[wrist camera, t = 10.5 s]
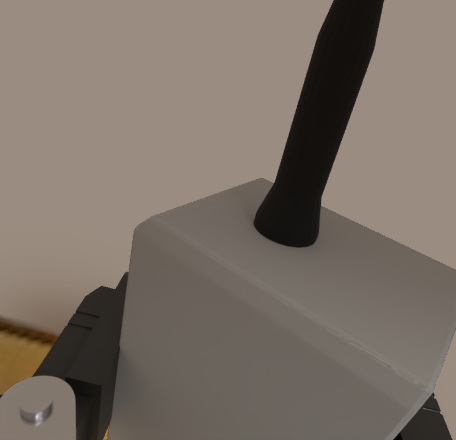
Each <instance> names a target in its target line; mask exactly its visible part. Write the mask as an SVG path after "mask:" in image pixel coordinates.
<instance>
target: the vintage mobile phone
mask: <svg viewBox="0 0 456 440" xmlns="http://www.w3.org/2000/svg"><path fill="white" fill-rule="evenodd" d="M383 2H384V0H334V1H333V3H332V5H331V7H330V10H329V12H328V14H327V16H326V19H325V21H324V23H323V25H322V27H321V30H320V32H319V34H318V37H317V40H316V44H315V47H314V50H313V54H312V57H311V61H310V64H309V68H308V71H307V74H306V78H305V81H304V84H303V88H302V91H301V95H300V99H299V102H298V105H297V109H296V112H295V115H294V119H293V122H292V125H291V129H290V132H289V136H288V139H287V142H286V146H285V149H284V153H283V156H282V159H281V163H280V166H279V170H278V173H277V176H276V180H275V182H274V183H272V182H270V181H268V180H266V179H263V178H259V179H256V180H254V181H251V182H248V183H245V184H242V185H239V186H237V187H234V188H231V189H228V190H225V191H223V192H220V193H217V194H214V195H211V196H208V197H206V198H203V199H200V200H197V201H194V202H191V203H188V204H186V205H183V206H180V207H177V208H174V209H171V210H169V211H166V212H163V213H160V214H157V215H154V216H152V217H150V218H149V219H147V220H146V221H144V222H142V223H141V224H139V225H138V226H137V227H136V228H135V230H134V235H133V242H132V250H131V258H130V265H129V273H128V281H127V289H126V297H125V304H124V312H123V320H122V328H121V336H120V343H119V346H120V350H119V359H118V367H117V375H116V384H115V392H114V401H113V409H112V418H111V421H110V423H109V429H108V437H107V440H393V439H394V438H395V437H396V436H397V435H398V433H399V432H400V431H401V430H402V429H403V428H404V427H405V425H406V424H407V423H408V422H409V421H410V420H411V418H412V417H413V416H414V415H415V414H416V413H417V412H418V410H419V409H420V408H421V407H422V405H423V404H424V403H425V402H426V400H427V399H428V398H429V397H430V395H431V394H432V393H433V391H434V388H435V385H436V382H437V380H438V377H439V374H440V371H441V368H442V366H443V363H444V360H445V358H446V355H447V352H448V350H449V346H450V344H451V341H452V339H453V336H454V333H455V330H456V270H455V269H453V268H451V267H449V266H447V265H445V264H442V263H440V262H438V261H436V260H434V259H432V258H430V257H428V256H426V255H424V254H421V253H419V252H417V251H415V250H413V249H411V248H409V247H407V246H405V245H403V244H400V243H398V242H396V241H394V240H392V239H390V238H388V237H385V236H383V235H381V234H379V233H377V232H375V231H373V230H371V229H369V228H367V227H364V226H362V225H360V224H358V223H356V222H354V221H352V220H350V219H348V218H345V217H344V216H341V215H339V214H337V213H335V212H333V211H331V210H329V209H327V208H325V207H322V206H321V197H322V194H323V191H324V188H325V186H326V183H327V180H328V177H329V174H330V171H331V169H332V166H333V163H334V160H335V158H336V155H337V152H338V149H339V146H340V143H341V141H342V138H343V135H344V132H345V130H346V127H347V124H348V121H349V118H350V116H351V112H352V110H353V107H354V104H355V102H356V99H357V96H358V93H359V90H360V87H361V85H362V82H363V79H364V76H365V74H366V71H367V68H368V65H369V62H370V60H371V56H372V54H373V51H374V47H375V42H376V37H377V32H378V28H379V23H380V17H381V13H382V8H383Z"/></svg>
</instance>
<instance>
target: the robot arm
mask: <svg viewBox="0 0 456 440" xmlns="http://www.w3.org/2000/svg"><path fill="white" fill-rule="evenodd" d="M128 273H129V272H126V273H125V274H124V275H123V277H122V279H121V280H120V282H119V284H118V286H117V288H116V289H112V288H108V287H103V286H101V287H99V288H98V289H96V290H94V291H93V292H91V293H90V294H89V295H87V296H86V297H85V298H84V300H83V301H82V303H81V304H80V306H79V307H78V309H77V310H76V313H75V314H74V315H73V316H72V318H71V319H70V321H69V323H68V325H67V326H66V327H65V328H64V330H63V331H62V333H61V334H60V336H59V337H58V339H57V340H56V342H55V343H54V345H53V347H52V348H51V350H50V351H49V353H48V354H47V356H46V357H45V359H44V360H43V362H42V363H41V365H40V366H39V368H38V369H37V371H36V372H35V373H34V375H33V376H32V377H31V378H27V379H25V380H22V381H20V382H18V383H16V384H15V385H13V386H12V387H11V388H9V389H8V390H7V391H6V392H5V393H4V394H3V395H0V440H103V438H104V435H105V433H106V430H107V428H108V425H109V423H110V421H111V418H112V409H113V401H114V392H115V384H116V375H117V367H118V359H119V350H120V346H119V343H120V336H121V328H122V320H123V312H124V304H125V297H126V289H127V281H128ZM434 396H435V395H434V393H432V394H431V395H430V397H429V398H428V399H427V400H426V402H425V403H424V404H423V405H422V407H421V408H420V409H419V410H418V412H417V413H416V414H415V415H414V416H413V417H412V418H411V420H410V421H409V422H408V423H407V424H406V425H405V427H404V428H403V429H402V430H401V431H400V432H399V433H398V435H397V436H396V437H395V438H394V439H393V440H452V438H451V435H450V433H449V431H448V428H447V425H446V423H445V421H444V418H443V416H442V415H441V414H440V411H441V410H440V408H439V405H438V403H437V400H436V399H434Z"/></svg>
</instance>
